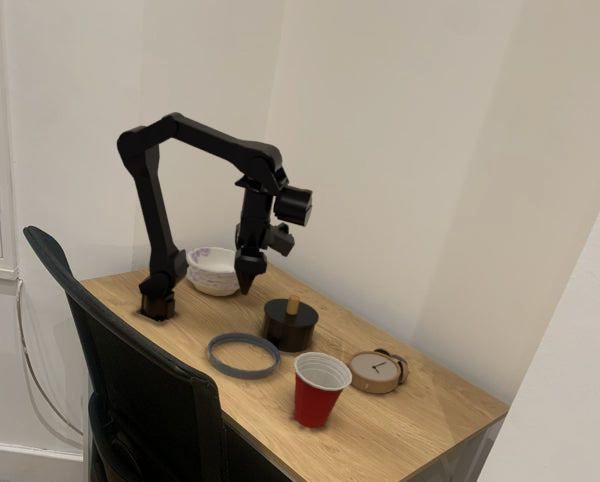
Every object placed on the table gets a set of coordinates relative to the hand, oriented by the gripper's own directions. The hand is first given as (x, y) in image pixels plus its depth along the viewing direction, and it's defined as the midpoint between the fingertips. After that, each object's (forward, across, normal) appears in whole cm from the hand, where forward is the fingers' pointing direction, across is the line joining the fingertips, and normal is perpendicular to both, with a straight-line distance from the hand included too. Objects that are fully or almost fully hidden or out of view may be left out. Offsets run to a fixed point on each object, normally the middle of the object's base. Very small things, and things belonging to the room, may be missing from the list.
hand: (244, 284), depth 134 cm
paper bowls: (+13, +23, +5) cm, 27 cm away
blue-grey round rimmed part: (+13, -9, -2) cm, 16 cm away
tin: (+13, +2, -11) cm, 17 cm away
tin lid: (+6, +2, -11) cm, 13 cm away
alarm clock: (+13, -9, -31) cm, 35 cm away
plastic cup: (+13, -27, -14) cm, 33 cm away
